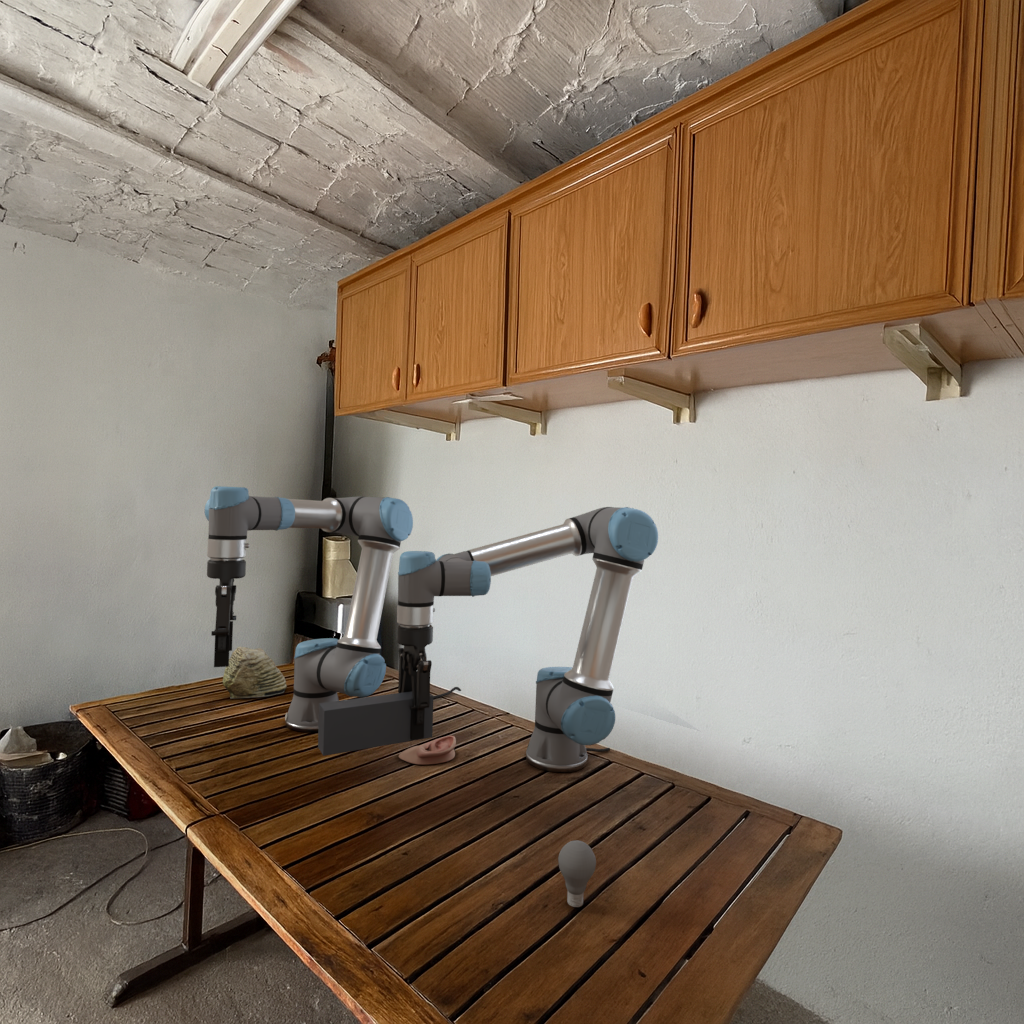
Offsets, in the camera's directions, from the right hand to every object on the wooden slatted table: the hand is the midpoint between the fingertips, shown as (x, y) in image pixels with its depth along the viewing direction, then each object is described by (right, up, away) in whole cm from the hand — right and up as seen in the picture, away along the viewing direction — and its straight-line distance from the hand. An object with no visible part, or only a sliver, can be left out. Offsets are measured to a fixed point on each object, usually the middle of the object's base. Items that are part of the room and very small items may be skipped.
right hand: (412, 733), depth 134 cm
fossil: (-59, -10, +64) cm, 88 cm away
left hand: (-40, +16, +1) cm, 43 cm away
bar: (-7, 0, -4) cm, 8 cm away
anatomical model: (0, -14, +23) cm, 27 cm away
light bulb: (+31, -16, -33) cm, 48 cm away
